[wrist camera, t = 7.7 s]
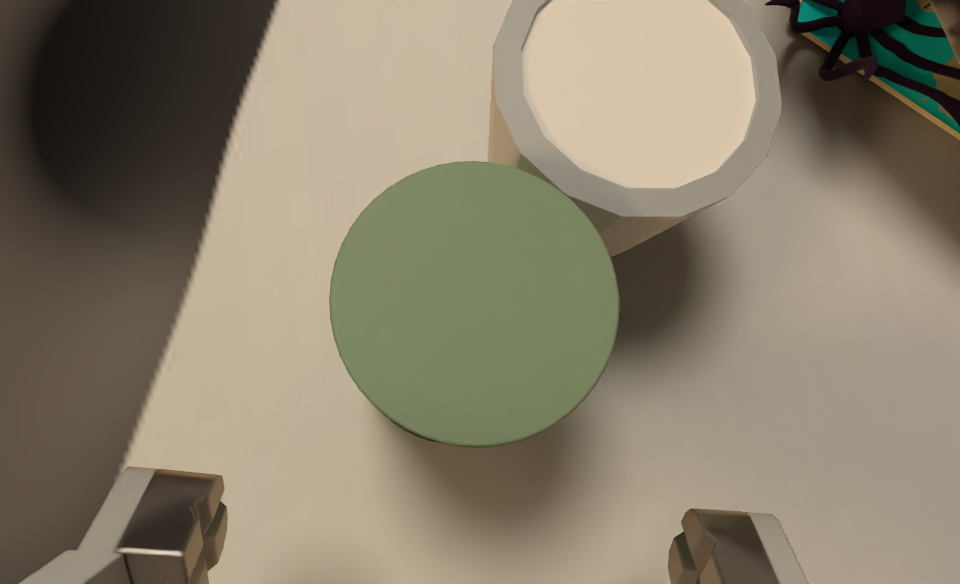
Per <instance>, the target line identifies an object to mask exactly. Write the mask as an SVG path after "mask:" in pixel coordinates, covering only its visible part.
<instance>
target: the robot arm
mask: <svg viewBox="0 0 960 584" xmlns="http://www.w3.org/2000/svg"><path fill="white" fill-rule="evenodd" d="M223 492H224V483H223V477H222V476H221V475H215V474H204V473H194V472H184V471H174V470H164V469H151V468H140V467H127V468H126V469H125V470H124V471H123V472H122V473H121V474H120V475H119V477H118V479H117V481H116V482H115V484H114V486H113V488H112V489H111V491H110V493H109V495H108V496H107V498H106V500H105V502H104V504H103V505H102V507H101V509H100V511H99V512H98V514H97V516H96V518H95V520H94V521H93V523H92V525H91V527H90V528H89V530H88V532H87V534H86V535H85V537H84V539H83V541H82V542H81V544H80V546H79V548H78V549H77V550H67V551H65V552H64V553H62V554H61V555H59V556H58V557H57V558H55V559H54V560H52V561H51V562H50V563H48V564H46V565H45V566H44V567H42V568H41V569H39V570H38V571H36V572H35V573H33V574H32V575H30V576H29V577H28V578H26V579H25V580H23V581H22V582H20V583H19V584H209V581H208V574H207V572H208V571H209V570H210V569H211V568H212V567H214V566H215V565H216V564H217V563H218V562H219V559H220V556H221V553H222V550H223V546H224V541H225V536H226V531H227V518H228V516H227V507H226V506H225V505H224V504H223V503H222V502H221V501H220V500H221V497H222V494H223ZM681 523H682V526H683V529H684V532H682V533H681V534H679V535H678V536H676V537H675V538H674V539H673V542H672V544H671V547H670V550H669V560H668V569H669V577H670V581H671V584H809V583H808V581H807V579H806V577H805V574H804V572H803V570H802V568H801V566H800V564H799V562H798V560H797V558H796V556H795V554H794V552H793V549H792V547H791V545H790V543H789V541H788V539H787V537H786V535H785V533H784V531H783V529H782V527H781V524H780V522H779V520H778V519H777V518H776V517H775V516H774V515H773V514H762V513H748V512H744V513H743V512H741V511H725V510H708V509H689V510H688V511H687V512H685V515H684V517H683V519H682V521H681Z"/></svg>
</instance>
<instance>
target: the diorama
mask: <svg viewBox="0 0 960 584" xmlns="http://www.w3.org/2000/svg"><path fill="white" fill-rule="evenodd" d="M765 5H780V6H787V7H788V8H791V13H790V19H789V21H788V23H787V25H789V26H790V29H791V31H793V32H795V33H801V34H802V35H804V36H805V37H807V38H808V39H810V40H811V41H813V42H814V43H816V44H817V45H819V46H820V47H822V48H823V49H825V50H826V51H828V52H829V54H828V55H827V57H826V59H825V60H824V62H823V64H822V66H821V67H820V71H819V76H820V78H821V79H822V80H825V81H833V80H836V79H839V78H841V77H844V76H846V75H849V74H851V73H853V72H856V71H857V72H859V73H860V74H862V75H863V76H864V83H866V82H867V81H868V79H869V80H871V81H872V82H874V83H875V84H877V85H878V86H880V87H881V88H883V89H884V90H886V91H887V92H889V93H890V94H891V95H893V96H894V97H896V98H897V99H899V100H900V101H902V102H903V103H905V104H906V105H908V106H909V107H911V108H912V109H914V110H915V111H917V112H918V113H920V114H921V115H923V116H924V117H926V118H927V119H929V120H930V121H932V122H933V123H935V124H936V125H938V126H939V127H941V128H942V129H943V130H945V131H946V132H948V133H949V134H951V135H952V136H954V137H955V138H957V139H958V140H960V65H959V63H958V61H957V59H956V57H955V55H954V53H953V50H952V48H951V45H950V43H949V40H948V38H947V36H946V34H945V32H944V30H943V28H942V26H941V24H940V22H939V20H938V18H937V16H936V14H935V12H934V10H933V7H932V5H931V3H930V1H929V0H802V2H801V3H800V1H799V0H771V1H769V2H767V3H766V4H765ZM838 59H839V60H841V61H842V62H844V63H845V64H844V65H842V66H840V67H837V68H835V69H833V70H832V68H833V67H834V65H835V63H836V61H837V60H838Z"/></svg>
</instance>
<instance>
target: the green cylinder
mask: <svg viewBox="0 0 960 584" xmlns="http://www.w3.org/2000/svg"><path fill="white" fill-rule="evenodd" d="M329 300H330V319H331V324H332V330H333V335H334V339H335V342H336V345H337V348H338V351H339V354H340V357H341V359H342V361H343V363H344V365H345V367H346V369H347V371H348V373H349V375H350V376H351V378H352V379H353V381H354V382H355V384H356V385H357V387H358V388H359V390H360V391H361V392H362V393H363V394H364V395H365V396H366V397H367V399H368V400H369V401H370V402H371V403H372V404H373V405H374V406H375V407H376V408H377V409H379V410H380V411H381V412H382V413H383V414H384V415H385V416H386V417H388V418H389V419H390V420H391V421H392V422H393V423H395V424H396V425H398V426H399V427H401V428H402V429H404V430H405V431H407V432H409V433H411V434H413V435H415V436H417V437H420V438H423V439H426V440H429V441H433V442H439V443H444V444H450V445H456V446H461V447H490V446H500V445H505V444H509V443H513V442H518V441H521V440H524V439H526V438H529V437H532V436H534V435H537V434H539V433H541V432H543V431H544V430H546V429H548V428H550V427H552V426H554V425H555V424H557V423H558V422H559V421H561V420H562V419H563V418H565V417H566V416H567V415H569V414H570V413H571V412H572V411H573V410H574V409H575V408H576V407H577V406H578V405H579V404H580V403H581V402H582V401H584V399H585V398H586V397H587V396H588V394H589V393H590V392H591V390H592V389H593V388H594V387H595V385H596V384H597V382H598V380H599V378H600V377H601V375H602V373H603V372H604V370H605V368H606V365H607V363H608V361H609V358H610V356H611V353H612V350H613V347H614V343H615V339H616V335H617V329H618V322H619V292H618V284H617V278H616V274H615V271H614V267H613V263H612V260H611V258H610V255H609V253H608V250H607V248H606V245H605V243H604V242H603V240H602V238H601V236H600V235H599V233H598V231H597V229H596V228H595V226H594V225H593V224H592V222H591V221H590V220H589V218H588V217H587V216H586V214H585V213H584V212H583V211H582V210H581V209H580V208H579V207H578V206H577V205H576V204H575V203H574V202H573V201H572V200H571V199H570V198H569V197H567V196H566V195H565V194H564V193H563V192H561V191H560V190H559V189H557V188H556V187H554V186H553V185H551V184H550V183H548V182H546V181H545V180H543V179H541V178H539V177H537V176H535V175H533V174H530V173H528V172H526V171H523V170H520V169H517V168H514V167H511V166H506V165H501V164H496V163H490V162H477V161H470V162H454V163H448V164H442V165H437V166H434V167H431V168H427V169H424V170H421V171H419V172H416V173H414V174H412V175H410V176H407V177H405V178H403V179H402V180H400V181H398V182H397V183H395V184H394V185H392V186H390V187H389V188H387V189H386V190H385V191H384V192H382V193H381V194H380V195H379V196H378V197H376V198H375V199H374V200H373V201H372V202H371V203H370V204H369V205H368V206H367V207H366V208H365V209H364V211H363V212H362V213H361V214H360V215H359V217H358V218H357V220H356V221H355V222H354V224H353V225H352V226H351V228H350V230H349V232H348V234H347V235H346V237H345V239H344V241H343V243H342V245H341V248H340V250H339V253H338V256H337V258H336V261H335V265H334V269H333V274H332V278H331V287H330V298H329Z"/></svg>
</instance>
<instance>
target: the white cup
mask: <svg viewBox="0 0 960 584" xmlns="http://www.w3.org/2000/svg"><path fill="white" fill-rule="evenodd" d="M781 109H782V100H781V92H780V85H779V77H778V69H777V62H776V54H775V52H774V50H773V49H772V47H771V45H770V43H769V41H768V40H767V38H766V36H765V34H764V32H763V31H762V29H761V27H760V25H759V23H758V22H757V20H756V18H755V16H754V14H753V13H752V11H751V9H750V7H749V6H748V5H747V4H746V3H744V2H743V1H742V0H513V1H512V3H511V5H510V8H509V10H508V12H507V15H506V17H505V19H504V22H503V24H502V27H501V29H500V31H499V34H498V36H497V38H496V41H495V43H494V45H493V62H492V82H491V102H490V122H489V142H488V162H490V163H496V164H501V165H506V166H511V167H514V168H517V169H520V170H523V171H526V172H528V173H530V174H533V175H535V176H537V177H539V178H541V179H543V180H545V181H546V182H548V183H550V184H551V185H553V186H554V187H556V188H557V189H559V190H560V191H561V192H563V193H564V194H565V195H566V196H567V197H569V198H570V199H571V200H572V201H573V202H574V203H575V204H576V205H577V206H578V207H579V208H580V209H581V210H582V211H583V212H584V213H585V214H586V216H587V217H588V218H589V220H590V221H591V222H592V224H593V225H594V226H595V228H596V229H597V231H598V233H599V235H600V236H601V238H602V240H603V242H604V243H605V245H606V248H607V250H608V253H609V255H610V258H611V257H613V256H616V255H618V254H620V253H623V252H625V251H626V250H628V249H630V248H632V247H634V246H636V245H638V244H640V243H642V242H644V241H645V240H647V239H649V238H651V237H653V236H655V235H657V234H659V233H661V232H663V231H665V230H666V229H668V228H670V227H672V226H674V225H676V224H678V223H680V222H682V221H684V220H685V219H687V218H689V217H691V216H693V215H695V214H697V213H699V212H701V211H703V210H704V209H706V208H708V207H710V206H712V205H714V204H716V203H718V202H720V201H722V200H723V199H725V198H727V197H729V196H731V195H733V194H734V192H735V191H736V190H737V189H738V188H739V187H740V186H741V185H742V184H743V182H744V181H745V180H746V179H747V178H748V177H749V176H750V175H751V174H752V172H753V171H754V170H755V169H756V168H757V167H758V166H759V165H760V164H761V162H762V161H763V160H764V159H765V158H766V157H767V156H768V153H769V149H770V146H771V142H772V139H773V136H774V132H775V129H776V126H777V122H778V119H779V116H780V112H781Z"/></svg>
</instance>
